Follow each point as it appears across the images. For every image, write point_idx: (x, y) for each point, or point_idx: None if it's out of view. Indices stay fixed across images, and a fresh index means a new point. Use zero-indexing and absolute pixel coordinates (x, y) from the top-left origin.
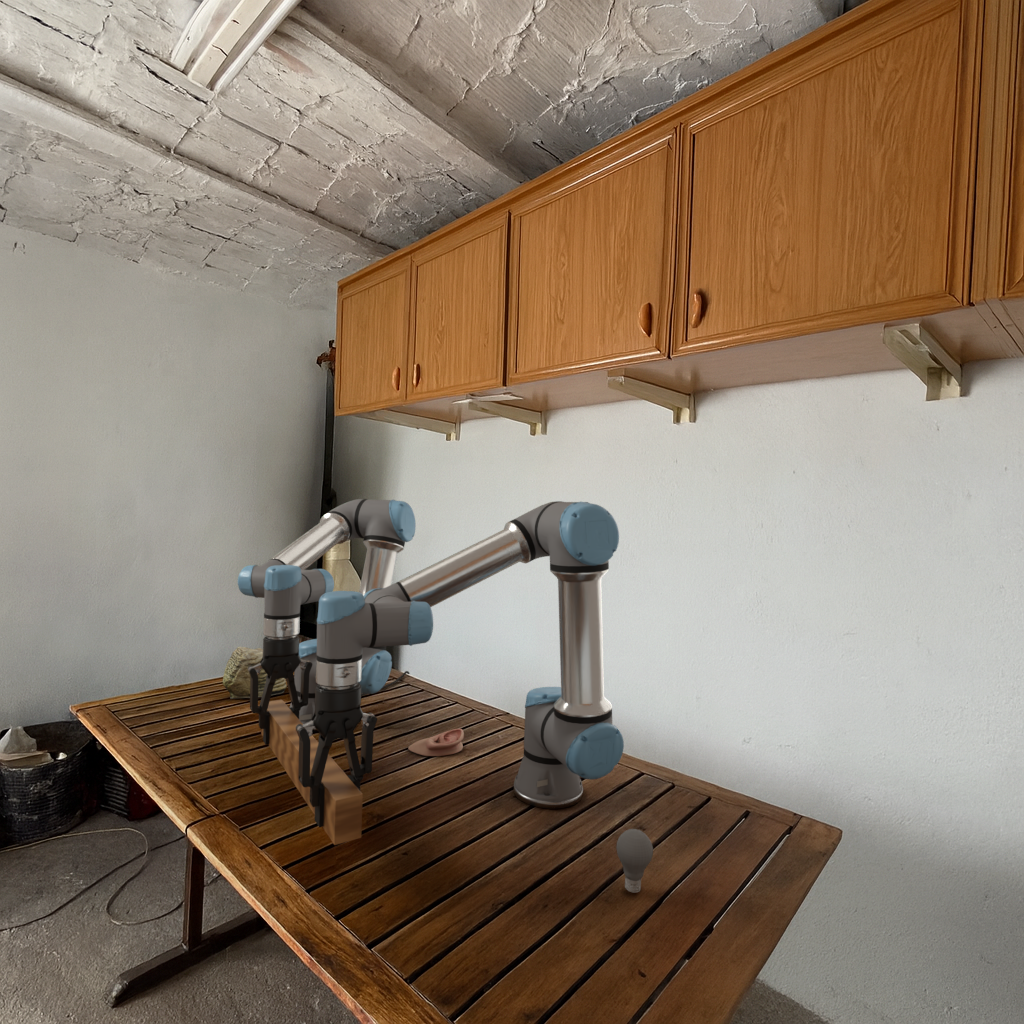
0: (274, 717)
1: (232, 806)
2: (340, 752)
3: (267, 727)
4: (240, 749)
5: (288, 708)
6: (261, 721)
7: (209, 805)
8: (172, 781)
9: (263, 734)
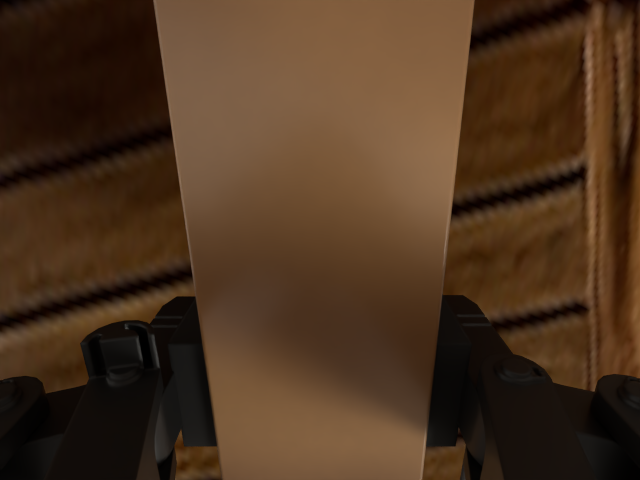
0: (438, 206)
1: (530, 46)
2: (63, 329)
3: None
4: None
5: (223, 412)
6: (482, 330)
7: (596, 99)
8: (622, 341)
9: None
